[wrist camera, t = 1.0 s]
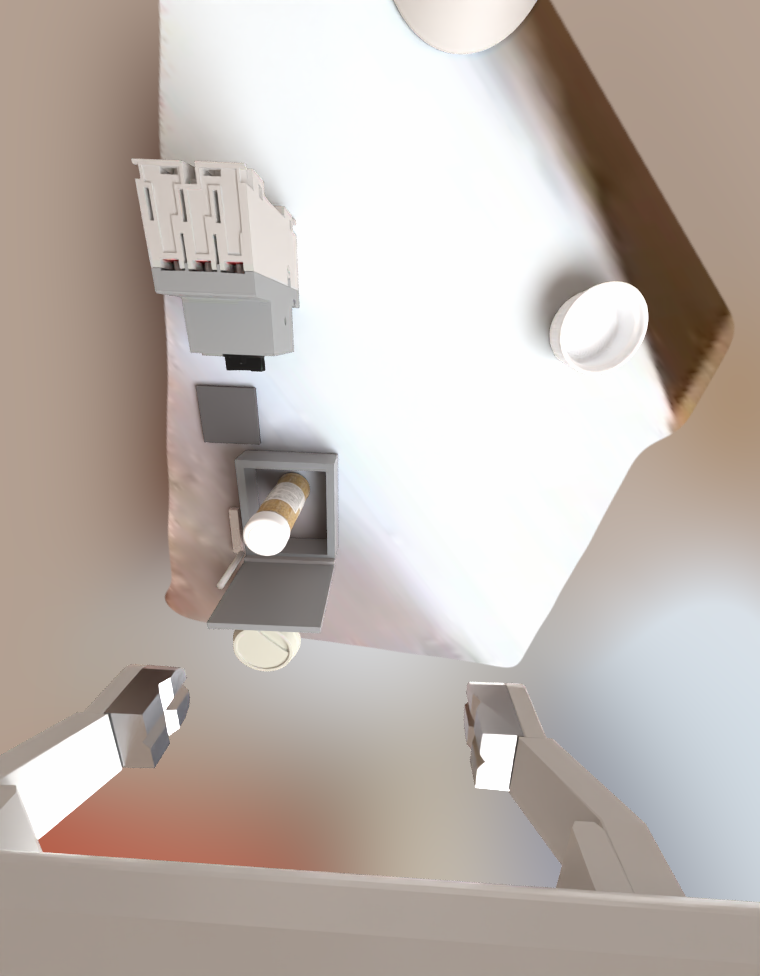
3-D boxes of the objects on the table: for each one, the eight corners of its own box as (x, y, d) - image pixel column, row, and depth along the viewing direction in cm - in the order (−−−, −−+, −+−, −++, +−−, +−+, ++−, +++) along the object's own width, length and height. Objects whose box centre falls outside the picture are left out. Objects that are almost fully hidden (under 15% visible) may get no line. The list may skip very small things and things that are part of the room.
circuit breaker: (239, 362, 44) (171, 377, 30) (223, 217, 38) (130, 153, 24) (302, 364, 44) (263, 381, 30) (295, 220, 38) (244, 157, 24)
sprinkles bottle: (293, 508, 51) (264, 565, 39) (270, 484, 50) (232, 535, 37) (317, 489, 50) (295, 542, 38) (294, 464, 49) (263, 510, 36)
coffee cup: (320, 605, 58) (305, 670, 47) (269, 612, 59) (242, 678, 48) (306, 560, 55) (285, 618, 44) (251, 569, 55) (218, 628, 44)
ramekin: (626, 277, 40) (653, 271, 36) (622, 361, 43) (646, 365, 39) (542, 296, 40) (559, 292, 36) (544, 377, 44) (560, 382, 40)
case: (238, 449, 48) (173, 502, 33) (338, 453, 48) (316, 508, 33) (249, 546, 54) (198, 628, 39) (338, 550, 54) (320, 633, 39)
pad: (198, 385, 45) (195, 385, 44) (255, 387, 45) (254, 388, 44) (206, 440, 47) (204, 442, 47) (260, 443, 47) (259, 444, 47)
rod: (231, 506, 52) (228, 509, 50) (240, 506, 52) (237, 510, 50) (236, 548, 54) (233, 553, 53) (244, 549, 54) (241, 553, 53)
